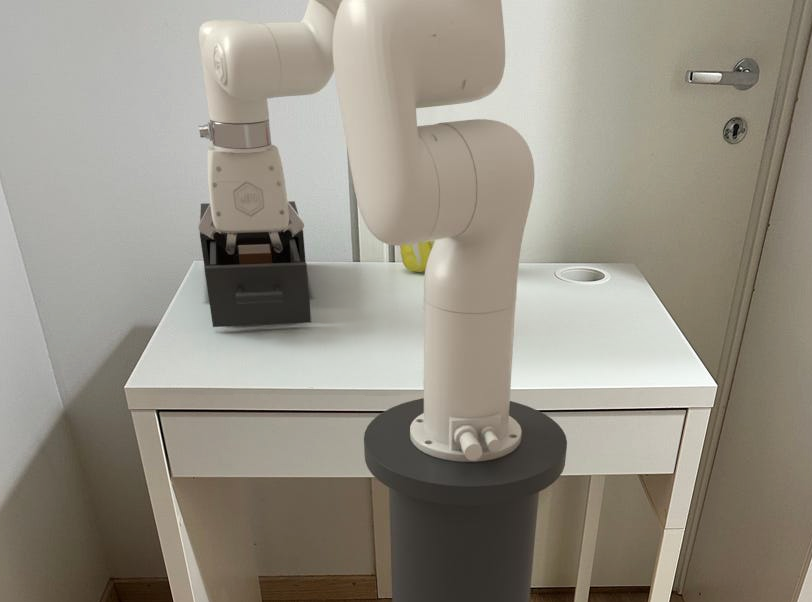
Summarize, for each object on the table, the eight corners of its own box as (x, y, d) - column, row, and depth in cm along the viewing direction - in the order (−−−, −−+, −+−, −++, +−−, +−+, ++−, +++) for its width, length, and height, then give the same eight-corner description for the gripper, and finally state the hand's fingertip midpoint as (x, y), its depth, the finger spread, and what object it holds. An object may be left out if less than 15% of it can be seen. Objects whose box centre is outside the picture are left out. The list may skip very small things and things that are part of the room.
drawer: (313, 333, 124) (309, 274, 119) (213, 338, 121) (204, 278, 117) (302, 285, 140) (297, 231, 135) (212, 289, 137) (205, 234, 132)
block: (274, 285, 128) (271, 252, 125) (242, 286, 127) (238, 253, 124) (273, 276, 131) (269, 244, 129) (241, 277, 131) (237, 245, 128)
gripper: (173, 141, 114) (196, 291, 125) (309, 139, 117) (320, 286, 128) (175, 131, 119) (197, 275, 131) (304, 129, 122) (315, 270, 134)
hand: (257, 279), depth 129 cm, fingers closed on block, 4 cm apart
